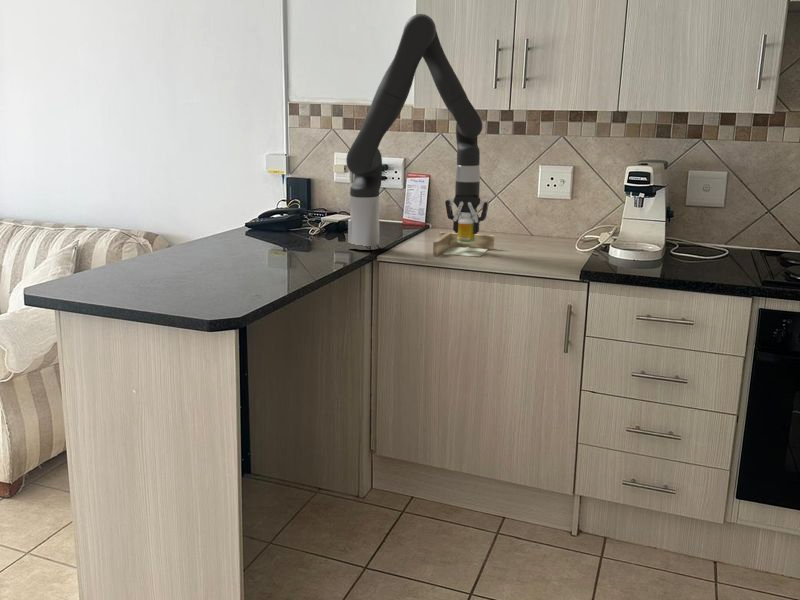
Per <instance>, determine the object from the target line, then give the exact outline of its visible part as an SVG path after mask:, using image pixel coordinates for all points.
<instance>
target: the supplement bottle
mask: <svg viewBox="0 0 800 600" xmlns="http://www.w3.org/2000/svg"><path fill="white" fill-rule="evenodd" d="M474 222H475V221H474V218H473V216H472V214H471V213H468V212H460V217H459V219H458V238H457V241H458V243H462V244H471V243H474V238H475V234H474Z"/></svg>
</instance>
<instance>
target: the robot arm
mask: <svg viewBox="0 0 800 600" xmlns="http://www.w3.org/2000/svg"><path fill="white" fill-rule="evenodd" d="M422 58H423V60H424V62H425V63H426V65H427V67H428V70H429V72H430V75H431V77H432V81H433V83H434V84H435V87H436V89H437V91H438V94H439V97H440V98H441V100H442V101H443V104H444V105H445V107H446V109H447V110H448V111H449V112H450V113H451V114H452V116H453V118H454V120H455V122H456V123H455V124H456V125H455V136H456V138H455V139H456V147H457V149H456V150H457V151H456V168H455V187H454V188H455V190H454V195H455V196H454V198H453V199H450V198H449V199H446V200H445V201H444V203H445V204H444V205H445V210H446V216H447V219H448V220H452V223H453V224H452V226H453V227H452V229H453V232H454V233H458V220H459V219H460V218H461V216H460V212H468V213H471V214H472V216H473V217H472V218H473V219H474V221H475V222H474V234H479V231H480V223H481V222H484V221H485V220H486V218H487V215H488V209H489V205H490V202H489V201H484V200H481V198H480V187H481V186H480V183H481V182H480V181H481V170H480V164H481V163H480V161H481V159H480V157H481V154H480V152H481V151H480V148H479V146H478V136H479V135H480V134H481V133H482V131H483V122H482V119H481V117H480V115H479V113H478V111H477V110H476V109H475V107H474V106H473V104H472V103H471V101H470V99H469V98H468V95H467V93H466V91H465V90H464V87H463V85H462V83H461V82H460V79H459V78H458V76H457V75H456V73H455V70H454V69H453V67H452V65H451V64H450V62H449V60H448V58H447V56H446V53H445V51H444V48H443V47H442V43H441V42H440V38H439V36H438V32H437V27H436V23H435V21H433V19H432V18H431V16H429V15H427V14H423V13H418V14H414V15H412V16H411V17H409V18H408V19H407V21H406V22H405V24H404V26H403V30H402V34H401V38H400V40H399V44H398V47H397V50H396V53H395V55H394V58H393V59H392V61H391V62H390V65H388V68H387V70H386V71H385V73H384V75H383V77H382V79H381V81H380V83H379V84H378V87H377V89H376V92H375V94H374V96H373V99H372V101H371V104H370V107H369V109H368V112H367V114H366V116H365V119H364V121H363V124H362V127H361V128H360V130H359V132H358V134H357V135H356V137H355V139H354V141H353V142H352V145H351V146H350V148H349V151H348V152H347V154H346V161H345V163H346V166H347V169H348V170H349V172H350V173H352V174H353V175H354V177H353V182H352V184H351V186H350V188H349V190H350V191H349V192H350V193H349V196H350V200H349V201H350V202H349V203H350V204H349V206H350V207H349V208H350V209H349V210H350V216H349V217H350V219H348V220H347V229H348V230H347V236H348V237H347V239H348V243H351V244H355V245H363V246H374V245H378V244H379V245H380V191H381V190H380V189H381V186H382V177H383V176H382V175H383V159H382V158H383V157H382V153H381V151H380V149H379V146H380V145H381V141H382V139H383V137H384V136H385V135H386V133H387V132H388V130H390V128H391V127H392V125H393V124H394V123H395V121H396V120H397V119H398V117H399V115H400V114H401V112H402V110H403V108H404V106H405V103H406V101H407V99H408V97H409V93H410V90H411V89H412V85H413V81H414V78H415V74H416V72H417V68H418V66H419V64H420V62H421V60H422ZM454 205H455V206H456V208H457V209H456V211H455V213H454V212H453V208H452V207H453V206H454ZM479 205H480V207H481V208H482V209H481V208H480V209H481V214H480V215H479V212H478V209H477V208H478V207H479Z"/></svg>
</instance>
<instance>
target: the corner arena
mask: <svg viewBox="0 0 800 600" xmlns="http://www.w3.org/2000/svg"><path fill="white" fill-rule="evenodd" d="M457 238H458V233H455V232H447V231H439V237H438V238H437V239H435V240H434V241H433V244H432V245H433V247H432V256H433V257H438V256H440V255H441V254H442V255H445V256H456V257H457V256H458V257H461V256H462V257H469V256H471V257H470V258H482V256H483V255H484V254H485V253H487V252H488V249H489V251H491V250H492V251H493V250H495V248H494V247H495V235H493V234H480V233H477V234H475V238H474V243H471V244H462V243H458V241H457ZM466 247H469V248H466Z"/></svg>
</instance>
